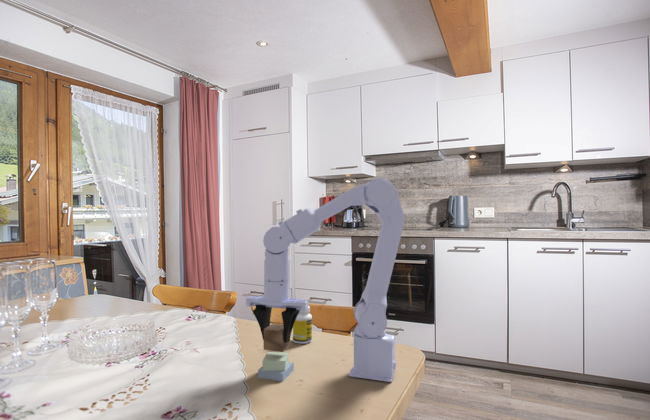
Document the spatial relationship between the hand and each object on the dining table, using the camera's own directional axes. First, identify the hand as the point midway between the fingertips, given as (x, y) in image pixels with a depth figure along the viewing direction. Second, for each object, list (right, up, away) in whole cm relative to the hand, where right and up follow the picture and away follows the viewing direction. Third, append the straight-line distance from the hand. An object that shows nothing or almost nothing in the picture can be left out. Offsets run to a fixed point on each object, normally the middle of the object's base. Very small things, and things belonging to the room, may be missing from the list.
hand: (276, 340), depth 84 cm
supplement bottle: (+5, -8, +22) cm, 23 cm away
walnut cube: (0, -2, 0) cm, 2 cm away
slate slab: (0, -8, 0) cm, 8 cm away
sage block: (0, -6, 0) cm, 6 cm away
